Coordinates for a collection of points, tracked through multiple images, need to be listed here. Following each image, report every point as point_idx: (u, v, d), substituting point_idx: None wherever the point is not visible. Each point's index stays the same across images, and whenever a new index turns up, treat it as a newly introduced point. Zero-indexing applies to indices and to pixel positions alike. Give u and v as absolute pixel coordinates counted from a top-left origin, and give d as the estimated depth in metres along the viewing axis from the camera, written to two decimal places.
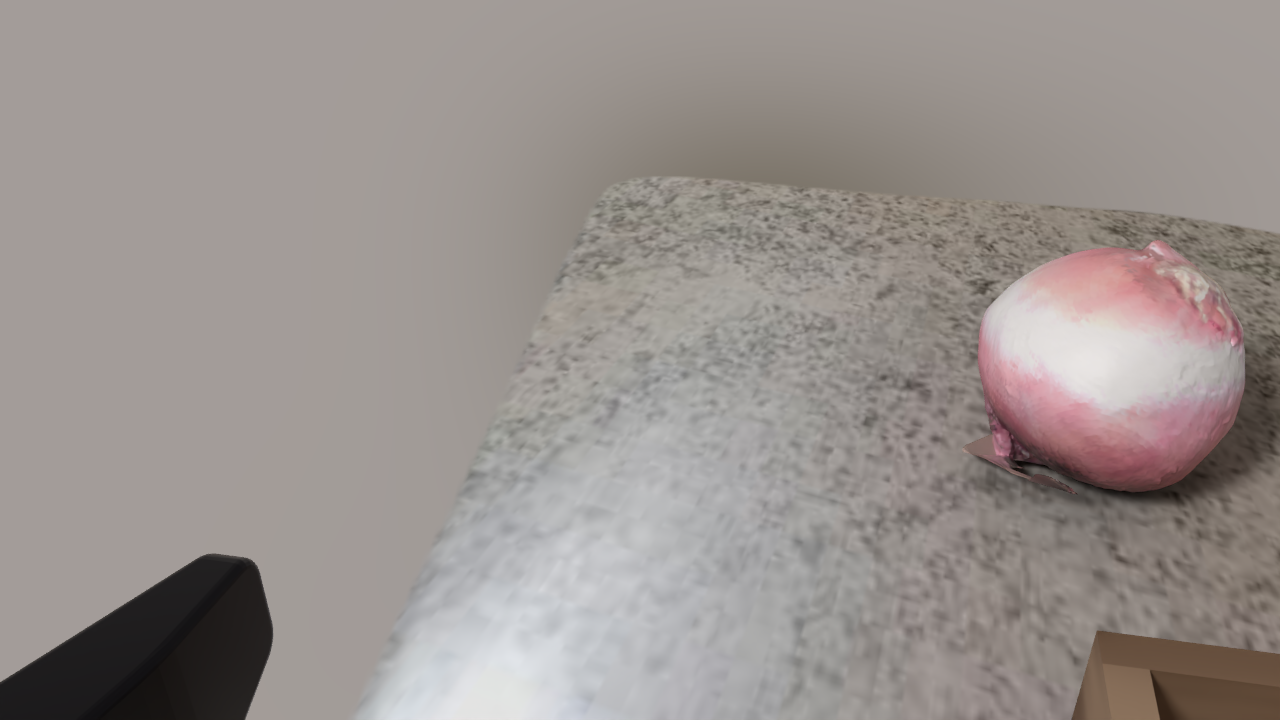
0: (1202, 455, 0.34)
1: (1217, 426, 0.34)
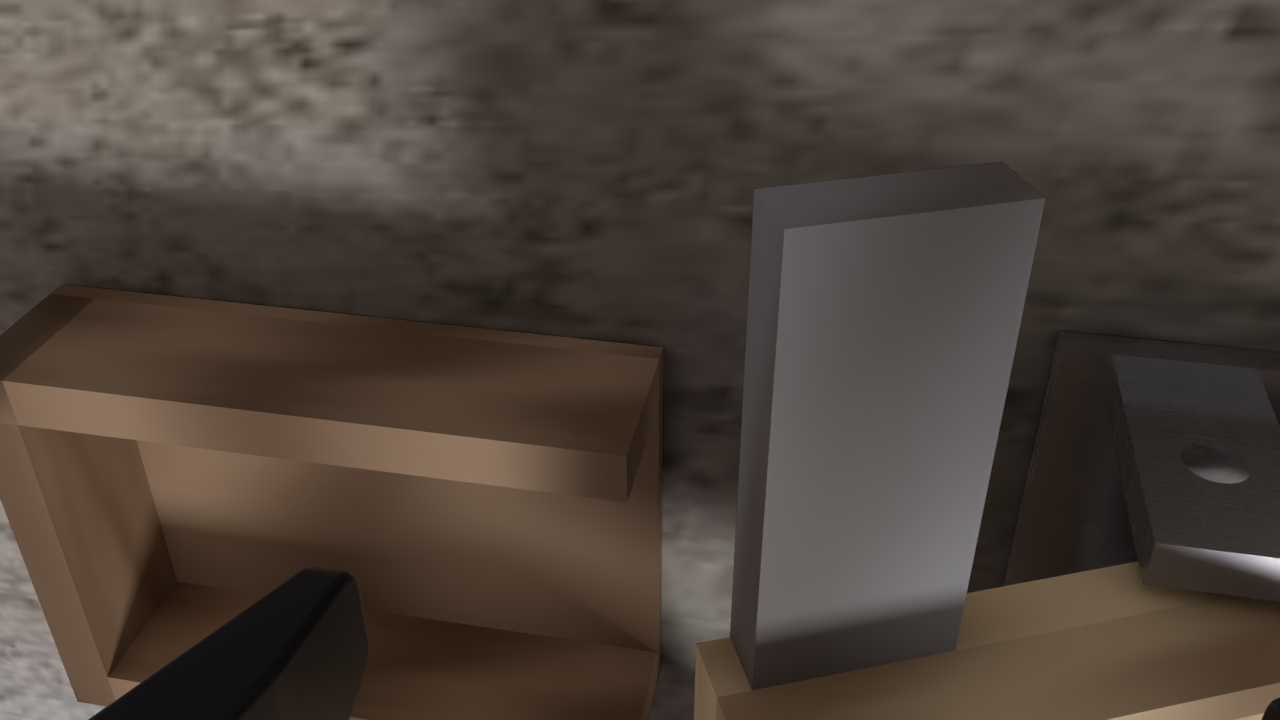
0: None
1: None
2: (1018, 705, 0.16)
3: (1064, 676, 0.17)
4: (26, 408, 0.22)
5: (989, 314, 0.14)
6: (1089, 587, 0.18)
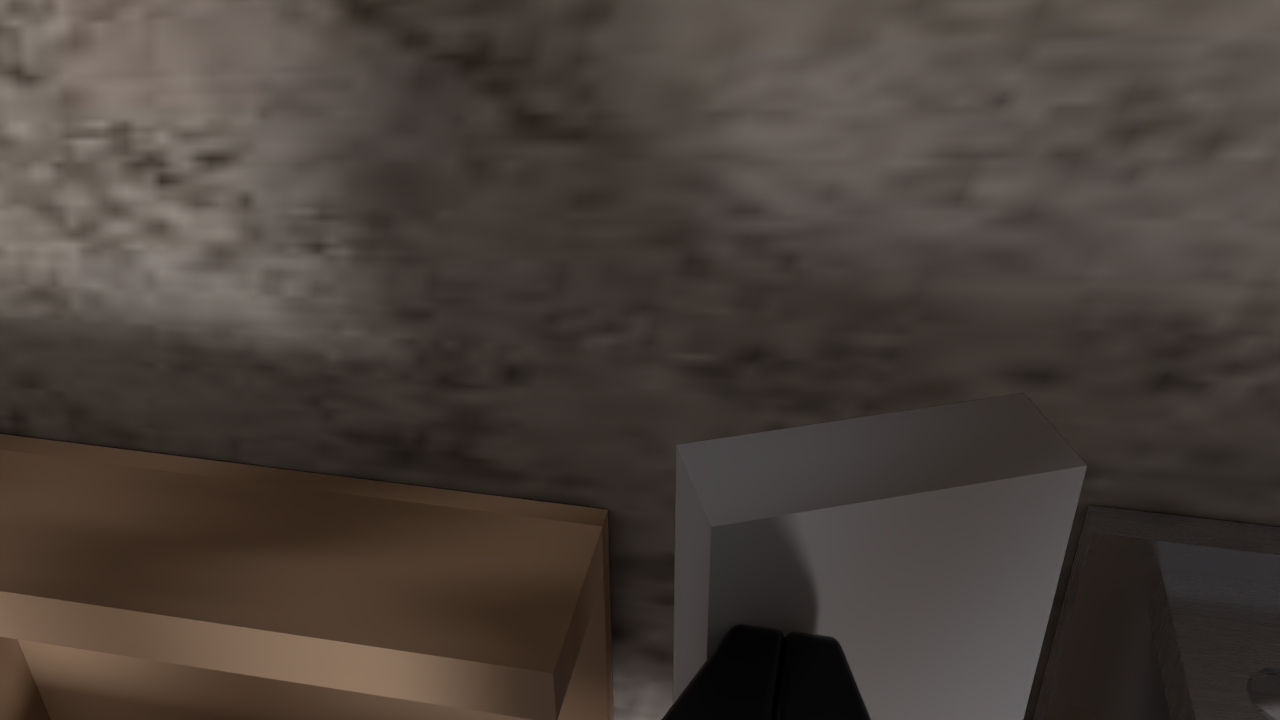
0: None
1: None
2: None
3: None
4: None
5: (1006, 608, 0.10)
6: None
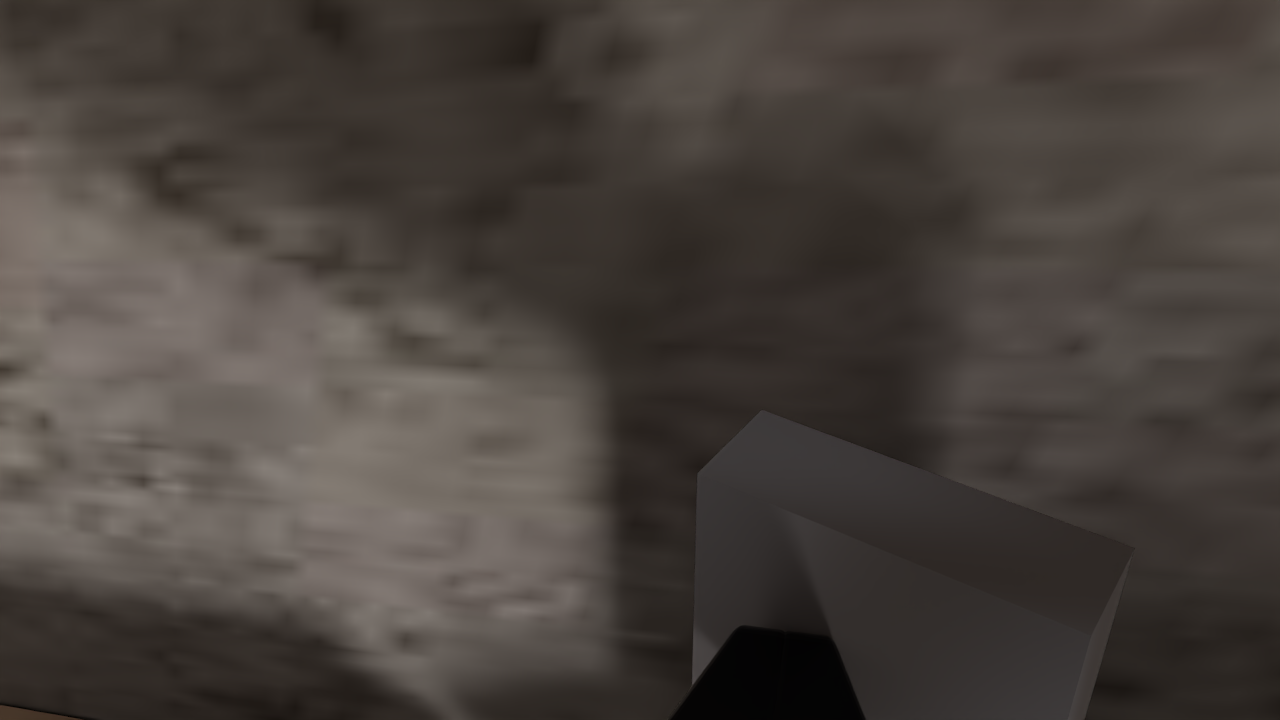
0: None
1: None
2: None
3: None
4: None
5: None
6: None
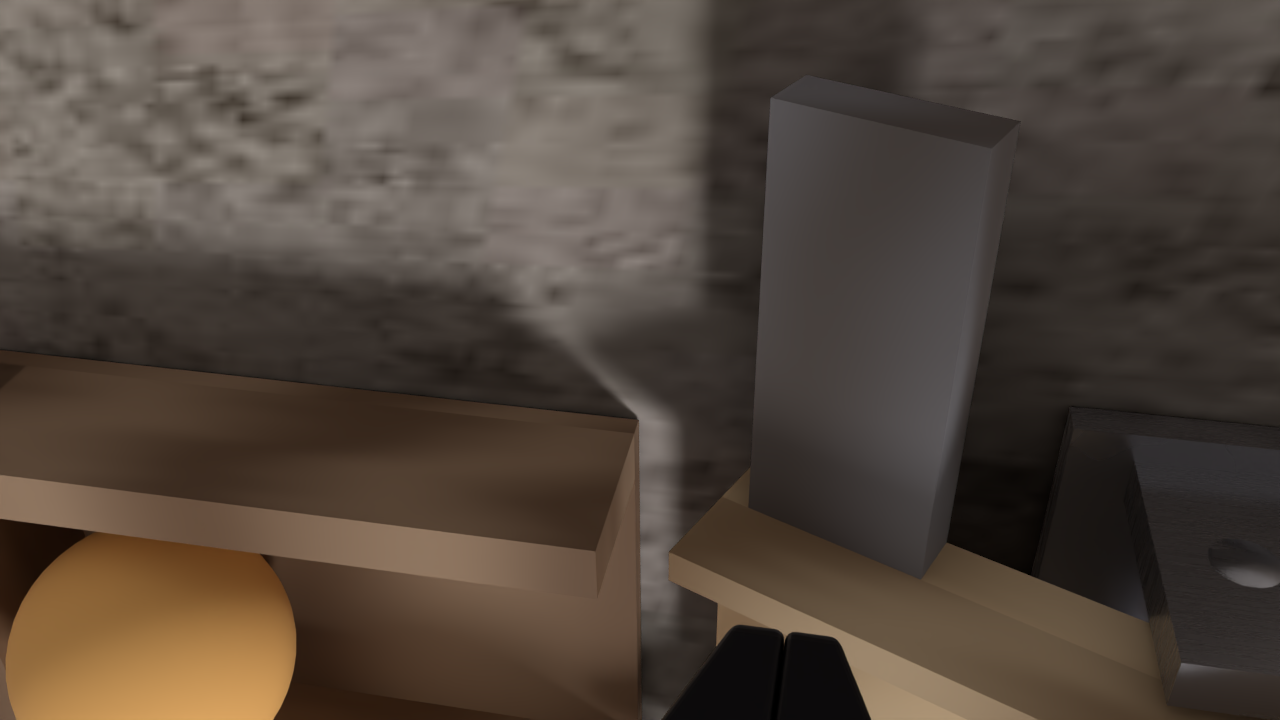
0: None
1: None
2: (914, 634, 0.17)
3: (980, 647, 0.17)
4: None
5: (941, 245, 0.15)
6: (1100, 619, 0.18)
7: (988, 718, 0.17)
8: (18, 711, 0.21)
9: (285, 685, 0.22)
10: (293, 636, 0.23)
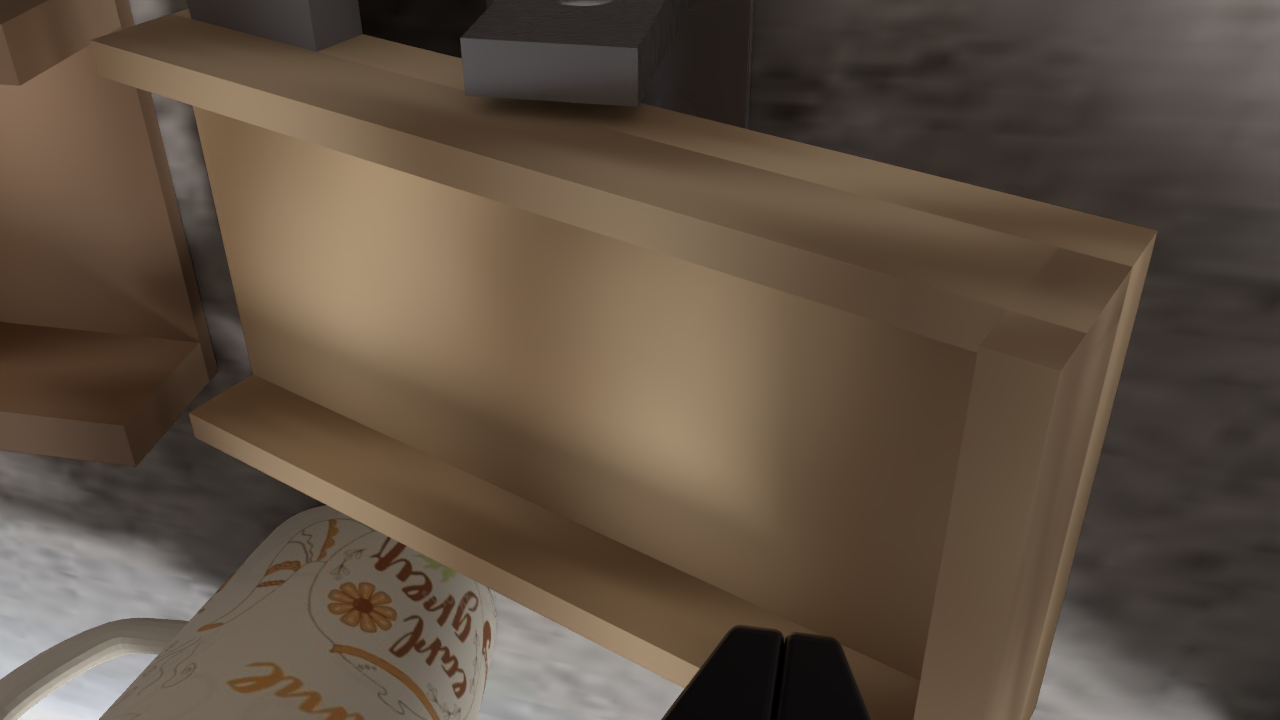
0: None
1: None
2: (278, 77, 0.18)
3: (335, 83, 0.18)
4: None
5: None
6: None
7: (323, 134, 0.17)
8: None
9: None
10: None
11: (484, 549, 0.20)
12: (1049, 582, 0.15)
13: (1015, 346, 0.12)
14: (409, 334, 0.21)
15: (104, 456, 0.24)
